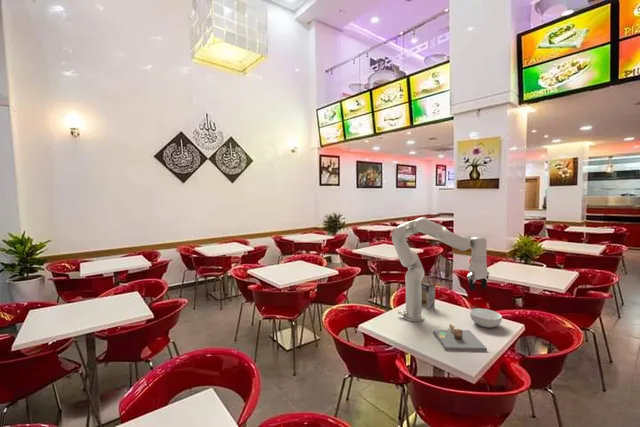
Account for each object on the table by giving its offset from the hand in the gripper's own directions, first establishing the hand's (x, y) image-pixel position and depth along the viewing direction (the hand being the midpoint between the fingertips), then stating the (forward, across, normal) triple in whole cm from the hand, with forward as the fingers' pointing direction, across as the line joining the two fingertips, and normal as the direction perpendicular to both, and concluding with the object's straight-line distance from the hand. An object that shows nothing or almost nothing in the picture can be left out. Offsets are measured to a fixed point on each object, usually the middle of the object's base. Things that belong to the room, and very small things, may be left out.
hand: (478, 288), depth 173 cm
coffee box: (+24, -1, -40) cm, 47 cm away
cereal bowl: (+24, -10, -2) cm, 27 cm away
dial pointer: (+22, +19, +1) cm, 29 cm away
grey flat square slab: (+24, +21, +4) cm, 32 cm away
